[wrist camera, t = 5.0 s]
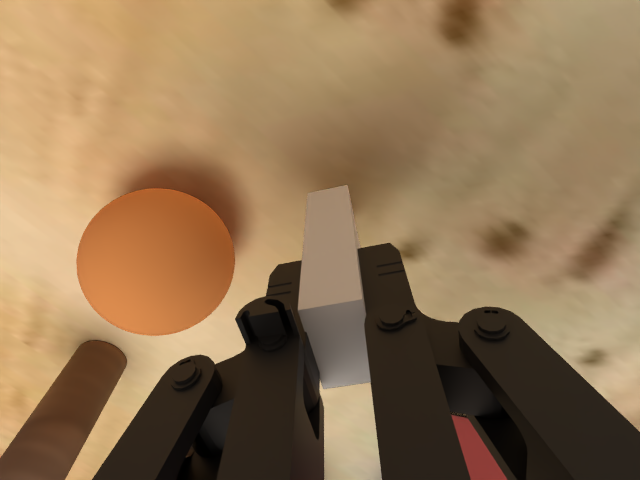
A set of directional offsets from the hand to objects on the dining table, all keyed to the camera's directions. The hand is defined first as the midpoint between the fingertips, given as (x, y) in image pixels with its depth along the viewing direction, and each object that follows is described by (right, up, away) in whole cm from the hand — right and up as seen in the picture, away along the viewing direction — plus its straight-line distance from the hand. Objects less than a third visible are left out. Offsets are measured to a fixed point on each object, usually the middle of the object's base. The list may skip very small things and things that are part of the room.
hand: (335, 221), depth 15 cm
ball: (-7, -2, 0) cm, 7 cm away
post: (-12, -7, +7) cm, 16 cm away
